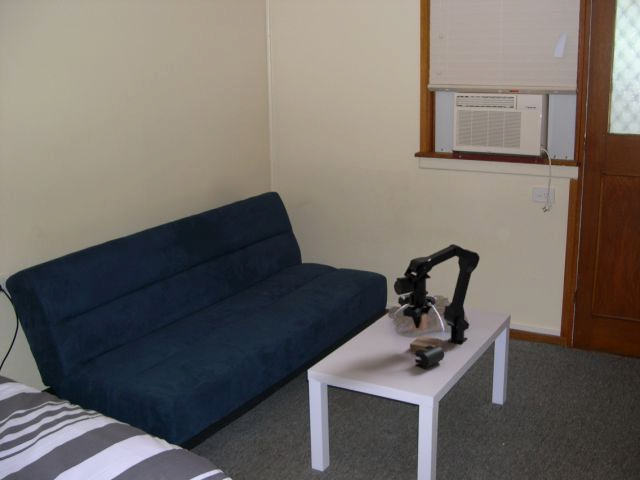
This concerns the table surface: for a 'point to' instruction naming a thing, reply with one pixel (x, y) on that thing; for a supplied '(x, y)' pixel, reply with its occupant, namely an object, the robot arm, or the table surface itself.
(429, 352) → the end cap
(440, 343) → the tan block
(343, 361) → the table surface
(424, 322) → the terracotta block
